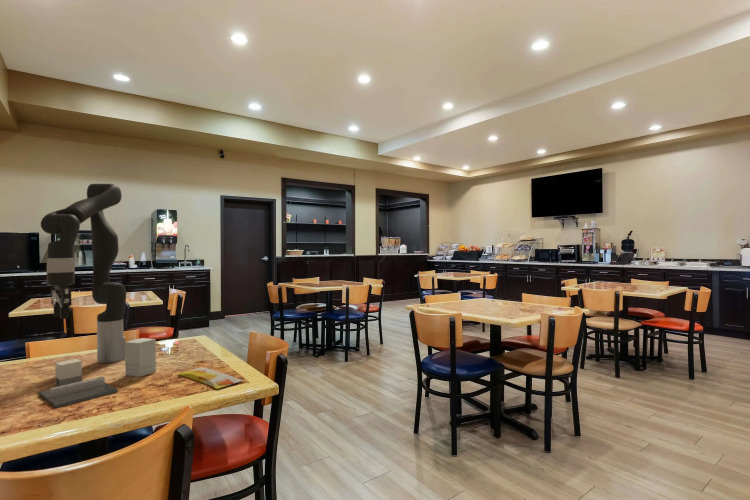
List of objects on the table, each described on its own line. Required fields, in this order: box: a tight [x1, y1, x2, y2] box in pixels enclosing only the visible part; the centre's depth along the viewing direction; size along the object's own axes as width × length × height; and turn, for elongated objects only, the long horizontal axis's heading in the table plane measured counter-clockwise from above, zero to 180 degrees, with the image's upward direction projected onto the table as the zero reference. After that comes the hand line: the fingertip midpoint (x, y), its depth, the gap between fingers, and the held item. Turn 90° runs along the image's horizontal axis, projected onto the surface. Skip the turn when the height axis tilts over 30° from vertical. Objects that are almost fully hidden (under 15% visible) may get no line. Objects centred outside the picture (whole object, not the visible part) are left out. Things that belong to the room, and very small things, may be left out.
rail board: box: [38, 376, 118, 409], centre depth 124 cm, size 16×18×4 cm
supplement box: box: [124, 337, 157, 378], centre depth 144 cm, size 7×7×13 cm
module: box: [54, 358, 83, 387], centre depth 133 cm, size 6×6×8 cm
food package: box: [177, 367, 244, 390], centre depth 138 cm, size 27×2×10 cm
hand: (61, 317), depth 133 cm, fingers open, 8 cm apart
